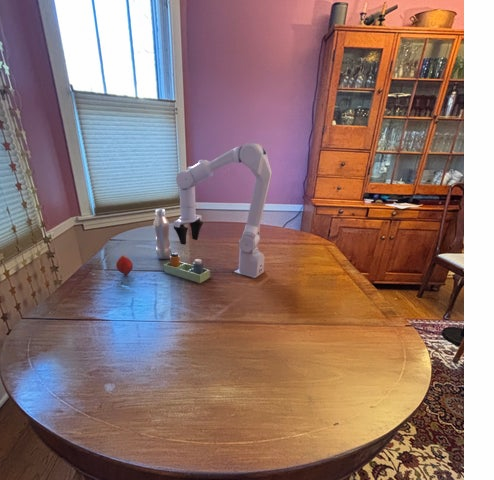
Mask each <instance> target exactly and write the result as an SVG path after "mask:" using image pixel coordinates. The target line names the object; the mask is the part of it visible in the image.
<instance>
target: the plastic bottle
mask: <svg viewBox="0 0 494 480" xmlns="http://www.w3.org/2000/svg"><path fill="white" fill-rule="evenodd" d="M155 216H156V217H155V218H154V220H153V228H154V233H155V240H156V248H155V254H156V258H158V259H160V260H168V259H170V255H171V253H172V249H171V245H170V244H171V243H170V222H169V220H168V218H167V217H166V209H164V208H159V209H158V208H157V209H155Z"/></svg>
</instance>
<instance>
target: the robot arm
mask: <svg viewBox="0 0 494 480" xmlns="http://www.w3.org/2000/svg"><path fill="white" fill-rule="evenodd" d="M197 161H198V163H196V164H194V165H193V166H188V167H186V168H187V169H186V170H180V172H179V173H178V174H176V177H175V181H176V184H177V186H178V188H179V189H178V190H179V206H180V207H179V209H180V216H179V217H178V219H176V220H174V221H173V229H174V231H175V232H176V234H177V237H178V239H179V243H180V245H184V246H185V245H186V244H187V233H188V230H189V227H186V226H185V225H188V224H189V226H190V230H191V238H192V240H193V241H198V239H199V234H200V231H201V228H202V226H203V225H204V222H203V221H202V218H203V216H202V215H201V214H196V213H197V212H196V210H197V209H196V208H197V207H196V186H197V185H198V184H201V183H203V182H204V181H206V180H208V179H210V178H212V177H213V176H214V173H215V171H217V170H220V169H222V168H224V167H226V166H228V165H230V164H232V163H238V164H239V163H242V164H243V165H244V166H245V167H246V168H248V169H249V170H250V171H251V173H252V174H253V176H254V177H255V181H254V185H253V191H252V196H251V200H250V205H249V211H248V215H247V220H246V223H245V227H244V229H243V232H242V233H243V234H242V236H241V237H240V238H239V240H238V248H239V252H238V253H239V255H238V256H239V257H238V268H237V269H236V270H234V271H233V273H235V274H239V275H243V276H247V277H249V278H250V277H251V278H253V279H254V278H258V277H259V276H260V275H261V274H263V273H265V260H266V259H265V258H266V257H265V254H264V253H263V252H261V251H260V250H259V246H258V245H259V244H260V242H261V235H260V234H261V233H260V231H261V223H262V222H261V221H262V218H263V214H264V209H265V205H266V200H267V196H268V192H269V188H270V183H271V179H272V174H273V172H272V171H273V170H272V168H271V165H270V160H269V157H268V152H267V151H266V149H265V148H264V147H263V145H262V144H261V143H259V142H253V143H252V142H247V143H245V144H244V145H239V146H236V147H234V148H232V149H230V150H228V151H227V152H225V153H223V154H221V155H220V156H218V157H215V159H213V160H210V161H209V160H207V159H199V160H197Z"/></svg>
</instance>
